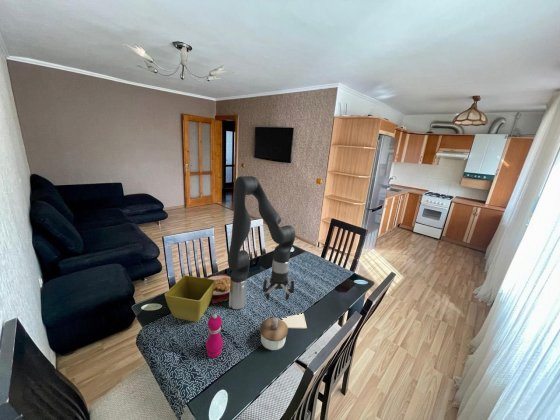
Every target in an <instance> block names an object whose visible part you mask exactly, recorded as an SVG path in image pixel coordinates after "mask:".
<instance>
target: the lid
mask: <svg viewBox="0 0 560 420" xmlns="http://www.w3.org/2000/svg"><path fill="white" fill-rule="evenodd" d="M259 326H260V327H259V332H260V336H261V335H262V336H263V337H264V338H265V339H267V340H269V341H280V340H282V339H284V338H285V337H286V338H287V335H288V332H289V328H288V327H287V325H286V323H285V322H284V321H282V320H280V319H279V318H277V317H275V316H274V317H270V318H267V319H264V320H263V321H262V322H261V323H260V325H259Z"/></svg>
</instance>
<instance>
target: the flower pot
mask: <svg viewBox="0 0 560 420" xmlns="http://www.w3.org/2000/svg"><path fill="white" fill-rule="evenodd" d="M206 278H207V277H199V276H193V275H183V276H182V277H181V278H180V279H179V280H178V281H177V282H175V284H174V285H173V286H172V287H170V288H169V289H168V290H167V292H165V293H164V297H165V301H166V304H167V307H168V308H169V310H170V313H171V314H172V316H173V317H174V318H176V319H180V320H185V321H189V322H193V323H194V322H195V323H198V322H199V321H200V320H201V318H202V317H203V315H204V314H205V312H206V311H207V309H208V307H210V304H211V302H212V301H211V298H212V294H213V291H214V286H215V280H213V279H206Z"/></svg>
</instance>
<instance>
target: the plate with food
mask: <svg viewBox="0 0 560 420" xmlns="http://www.w3.org/2000/svg"><path fill="white" fill-rule="evenodd" d="M205 278H206V279H213V280H215V286H214V291H213V294H212V298H211V301H210V302H214V303H213V304H215V302H216V303H220V302H219V301H221V300H223V299H224V298H227V297H229V292H230V275H227V274H226V273H224V274H223V273H219V274H218V275H216V274H215V275H213V276H209V277H205ZM221 302H222V301H221Z"/></svg>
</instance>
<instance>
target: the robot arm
mask: <svg viewBox="0 0 560 420" xmlns="http://www.w3.org/2000/svg"><path fill="white" fill-rule="evenodd" d="M233 195H234V197H233V198H234V202H233V204H234V205H233V206H234V207H233V217H232V226H231V236H230V238H231V239H230V246H229V250H228V255H227V265H228V268H229V269H230V270H231V273H230V275H229V276H230V292H229V300H228V308H231V309H233V310H241V309H243V308H244V307H246V303H247V302H246V301H247V300H246V299H247V285H248V284H247V282H248V275H249V272H250V264H251V263H250V261H251V260H250V255H249V252H248V251H247V250H245V249H244V250H243V249H242V250H241V248H242V246H243V245H244V243H245V241H246V240H247V237H249V234H250V231H251V225H252V224H251V223H252V218H251V216H250V214H249V212H248V210H247V208H246V207H247V206H246V196H250V195H252V196H253V197H255V199H256V200H257V204H258V208H257V209H258V212H259V215H260V217H261V219H262V221H264V223H265V224H266V225H267V228H268V231H269V234H270V237H271V239H272V240H273V243H275V244H278V245H277V246H275V248H274V251H273V259H272V263H271V264H272V265H271V277H270V279H269V278H267V277H263V283H262V284H263V285H262V292H263V293H265V298H266V300H267V301H269V300H270V293H271V291H273V290H274V289H275V290H283V291H284V292H285V296H284V297H285V298H284V299H285V301H288V300H289V299H290V294H293V293H294V292H295V289H294V288H295V280H294V278H291V279H288V277H289V269H290V256H291V250H292V249H293V246H294V242H295V239H296V231H295V229H294V227H293V226H292V225H289V224H288V225H283V226H280V223H281V222H282V217H281V215H280V214H279V213H278V212H277V210H276V209H275V208H274V207H273V205H272V203H271V202H270V200H269V199H268V196H267V194H266V193H265V190H264V188H263V187H262V185H261V183H260V181H259V180H258V178H256V177H255V176H254V175H253V176H252V175H247V176H246V175H245V176H243V175H241V176H238V177H236V179H235V180H234V193H233ZM269 283H270V284H269ZM268 284H269V285H268ZM288 284H289V285H290V288H288ZM267 285H268V287H267Z"/></svg>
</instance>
